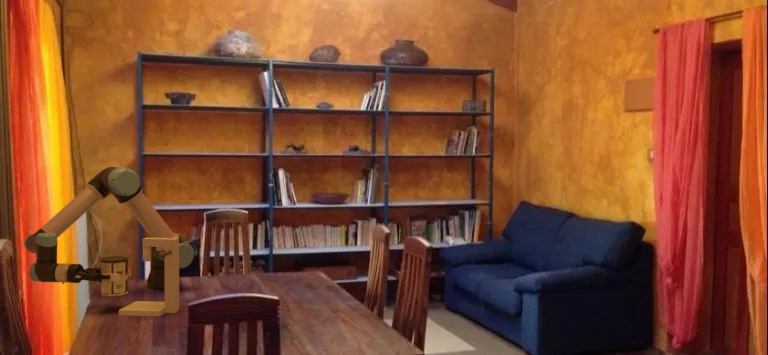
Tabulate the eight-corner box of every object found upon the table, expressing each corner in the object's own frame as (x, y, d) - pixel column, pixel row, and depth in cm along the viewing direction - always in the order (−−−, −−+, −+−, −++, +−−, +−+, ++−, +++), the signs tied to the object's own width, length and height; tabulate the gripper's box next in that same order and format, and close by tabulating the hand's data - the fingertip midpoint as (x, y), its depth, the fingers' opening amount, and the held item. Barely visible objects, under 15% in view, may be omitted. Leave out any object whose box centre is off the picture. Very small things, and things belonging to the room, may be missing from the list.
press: (135, 305, 285) (135, 235, 284) (183, 307, 284) (183, 236, 283) (114, 317, 265) (113, 241, 264) (165, 319, 264) (165, 242, 263)
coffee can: (112, 290, 284) (112, 255, 283) (133, 292, 280) (133, 257, 280) (94, 294, 274) (94, 259, 273) (115, 297, 270) (116, 260, 270)
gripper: (84, 277, 289) (136, 279, 288) (55, 288, 267) (112, 289, 265) (84, 259, 289) (136, 261, 288) (55, 268, 266) (112, 270, 265)
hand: (125, 275), depth 276 cm, fingers closed on coffee can, 10 cm apart
